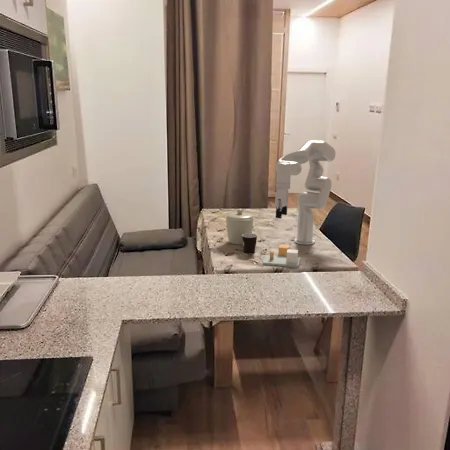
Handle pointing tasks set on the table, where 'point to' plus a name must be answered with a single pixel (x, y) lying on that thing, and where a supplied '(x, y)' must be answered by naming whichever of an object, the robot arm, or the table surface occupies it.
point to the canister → (238, 225)
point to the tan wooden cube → (283, 250)
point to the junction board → (283, 259)
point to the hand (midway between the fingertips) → (281, 216)
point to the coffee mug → (249, 242)
